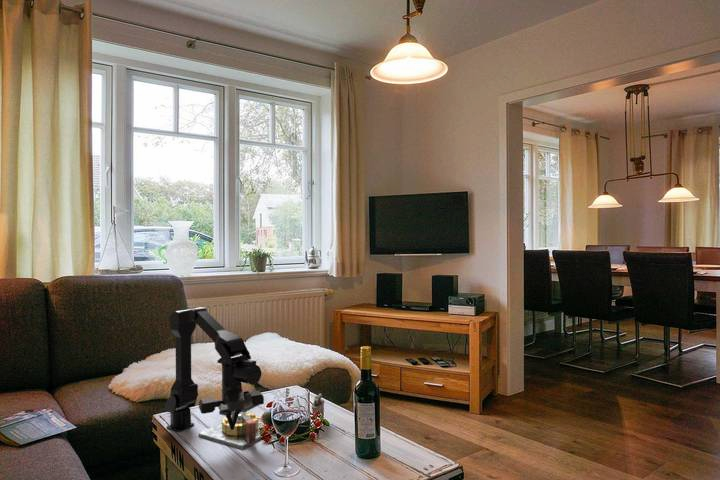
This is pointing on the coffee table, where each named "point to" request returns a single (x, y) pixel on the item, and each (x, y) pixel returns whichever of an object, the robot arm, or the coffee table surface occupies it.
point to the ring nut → (243, 427)
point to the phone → (247, 407)
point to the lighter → (318, 405)
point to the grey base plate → (232, 440)
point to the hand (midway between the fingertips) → (232, 429)
